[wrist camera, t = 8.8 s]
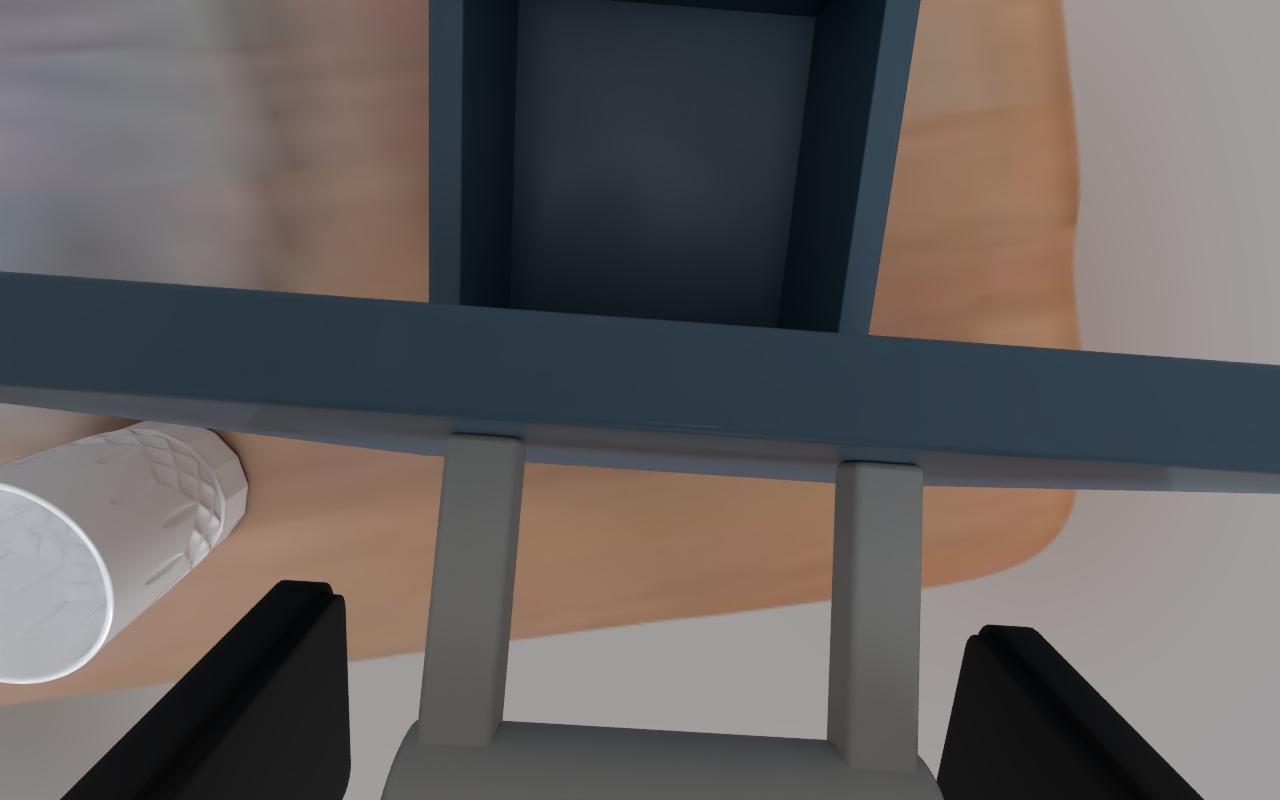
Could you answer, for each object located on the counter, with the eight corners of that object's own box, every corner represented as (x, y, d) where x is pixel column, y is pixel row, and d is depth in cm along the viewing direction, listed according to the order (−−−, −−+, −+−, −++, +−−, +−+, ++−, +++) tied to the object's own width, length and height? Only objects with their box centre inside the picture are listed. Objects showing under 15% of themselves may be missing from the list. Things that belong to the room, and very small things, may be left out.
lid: (-300, 247, 5) (-517, 1170, 4) (1678, 391, 5) (1775, 1270, 4) (426, 430, 22) (407, 607, 22) (852, 460, 23) (846, 634, 22)
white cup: (252, 406, 33) (90, 481, 23) (270, 557, 35) (129, 685, 25) (85, 403, 33) (-148, 478, 23) (112, 555, 35) (-91, 683, 25)
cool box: (499, -29, 28) (428, -161, 19) (836, 0, 29) (939, -116, 19) (490, 375, 32) (428, 438, 23) (785, 396, 33) (848, 467, 23)
